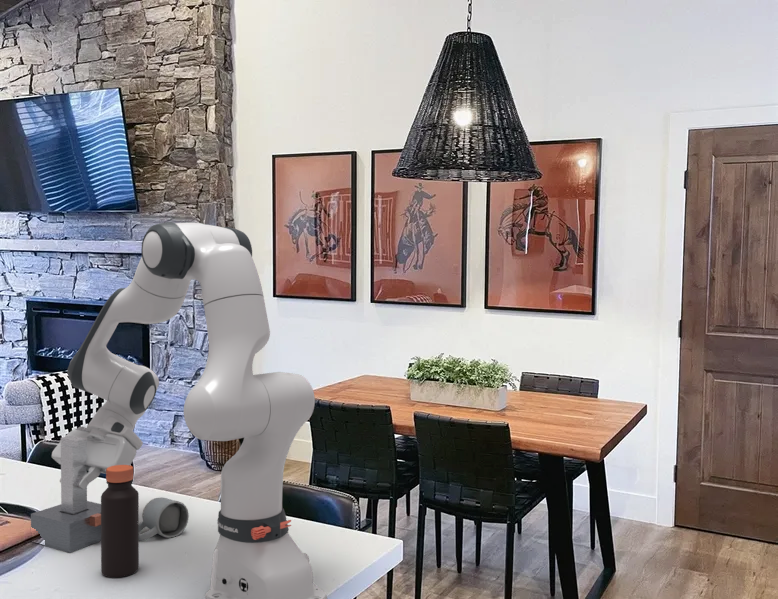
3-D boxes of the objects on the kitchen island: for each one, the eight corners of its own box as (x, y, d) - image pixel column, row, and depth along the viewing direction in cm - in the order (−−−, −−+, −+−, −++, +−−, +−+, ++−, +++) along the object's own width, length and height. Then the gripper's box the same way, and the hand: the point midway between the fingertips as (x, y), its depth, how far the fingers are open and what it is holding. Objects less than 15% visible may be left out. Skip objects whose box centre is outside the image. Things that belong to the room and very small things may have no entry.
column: (89, 537, 165) (89, 438, 164) (75, 542, 162) (74, 441, 161) (73, 532, 168) (72, 435, 167) (58, 538, 165) (58, 438, 164)
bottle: (122, 561, 153) (122, 461, 152) (146, 569, 149) (146, 466, 148) (93, 573, 147) (92, 469, 146) (117, 581, 143) (117, 474, 142)
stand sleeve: (121, 536, 167) (121, 508, 166) (75, 554, 156) (74, 524, 156) (78, 525, 173) (78, 497, 173) (31, 541, 163) (30, 512, 162)
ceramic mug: (169, 523, 175) (169, 490, 174) (189, 532, 169) (189, 498, 169) (126, 536, 167) (125, 501, 167) (145, 546, 162) (144, 510, 161)
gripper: (68, 417, 175) (30, 470, 167) (132, 428, 165) (95, 484, 157) (84, 433, 179) (48, 485, 171) (148, 444, 169) (113, 500, 161)
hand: (71, 485), depth 164 cm, fingers closed on column, 4 cm apart
